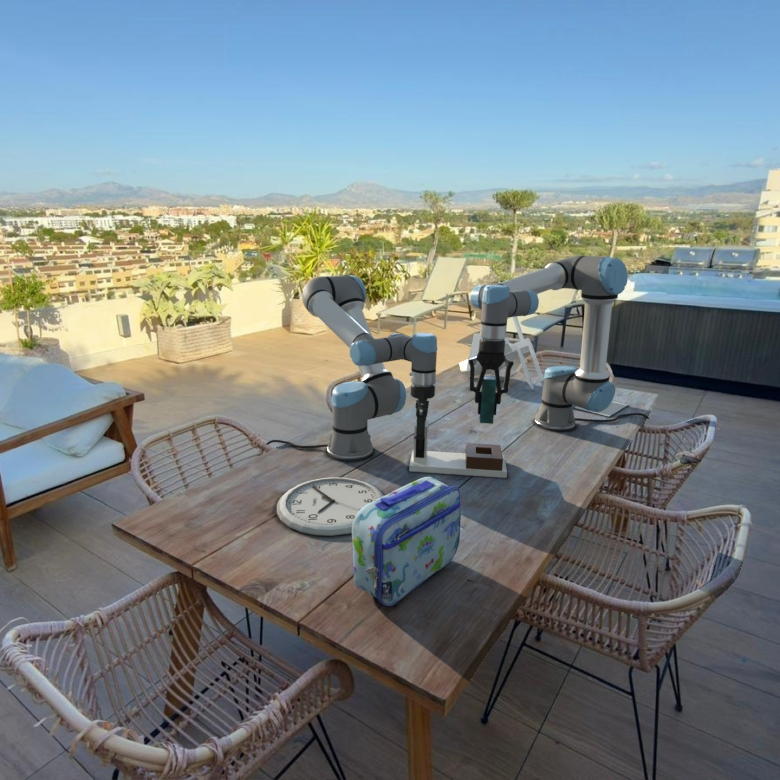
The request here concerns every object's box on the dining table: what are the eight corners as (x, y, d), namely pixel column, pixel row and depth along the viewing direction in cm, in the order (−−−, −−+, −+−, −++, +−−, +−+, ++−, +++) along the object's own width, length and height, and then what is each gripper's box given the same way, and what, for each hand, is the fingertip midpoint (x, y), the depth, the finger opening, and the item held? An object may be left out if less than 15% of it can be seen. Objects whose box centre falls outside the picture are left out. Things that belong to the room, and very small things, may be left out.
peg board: (503, 461, 172) (506, 421, 167) (506, 477, 160) (510, 435, 156) (412, 455, 175) (413, 416, 171) (409, 471, 164) (410, 429, 159)
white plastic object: (480, 418, 266) (459, 395, 242) (461, 346, 288) (441, 318, 264) (550, 394, 254) (536, 368, 229) (526, 321, 276) (510, 289, 251)
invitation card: (608, 416, 214) (573, 407, 224) (608, 416, 214) (573, 408, 224) (628, 404, 229) (594, 396, 238) (628, 405, 229) (594, 397, 238)
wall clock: (392, 527, 129) (268, 531, 127) (391, 533, 130) (269, 537, 127) (383, 473, 158) (282, 475, 155) (383, 478, 158) (282, 480, 156)
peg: (492, 419, 164) (495, 376, 159) (493, 423, 160) (496, 379, 156) (479, 418, 164) (482, 375, 160) (479, 423, 160) (483, 379, 156)
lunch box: (381, 619, 101) (382, 525, 95) (345, 592, 109) (344, 503, 102) (464, 563, 119) (469, 480, 113) (428, 543, 126) (432, 464, 120)
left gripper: (413, 375, 170) (411, 440, 177) (408, 392, 152) (406, 464, 159) (436, 376, 169) (433, 442, 176) (434, 393, 151) (430, 466, 158)
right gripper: (520, 337, 157) (513, 410, 164) (463, 334, 159) (458, 407, 166) (523, 342, 150) (516, 419, 157) (463, 339, 152) (458, 415, 158)
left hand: (420, 452), depth 168 cm, fingers closed on peg board, 6 cm apart
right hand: (486, 413), depth 161 cm, fingers closed on peg, 4 cm apart
